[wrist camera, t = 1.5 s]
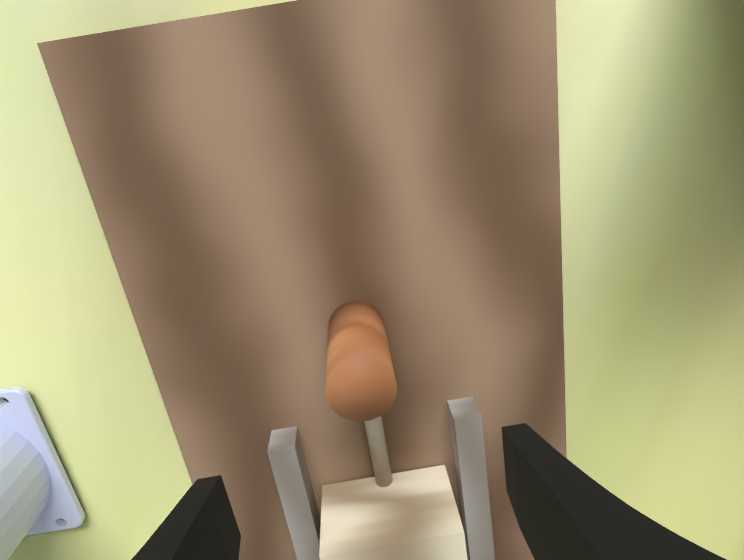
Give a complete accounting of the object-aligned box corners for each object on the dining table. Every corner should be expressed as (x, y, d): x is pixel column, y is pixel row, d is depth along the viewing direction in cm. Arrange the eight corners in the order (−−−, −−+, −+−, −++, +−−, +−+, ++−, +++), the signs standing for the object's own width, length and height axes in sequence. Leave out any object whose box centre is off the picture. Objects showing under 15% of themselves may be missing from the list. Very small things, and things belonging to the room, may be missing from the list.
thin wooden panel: (274, 690, 31) (268, 739, 28) (52, 46, 18) (10, 38, 16) (564, 640, 31) (582, 685, 28) (542, -35, 18) (573, -54, 16)
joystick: (340, 561, 26) (340, 663, 21) (281, 313, 21) (264, 375, 16) (454, 541, 26) (480, 639, 21) (422, 289, 21) (446, 344, 16)
